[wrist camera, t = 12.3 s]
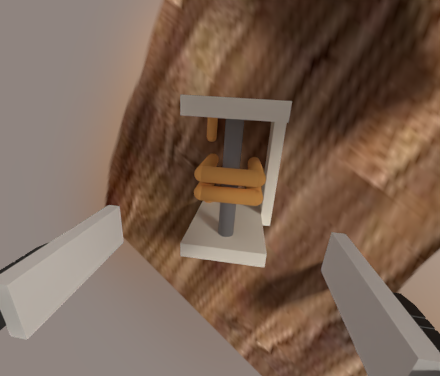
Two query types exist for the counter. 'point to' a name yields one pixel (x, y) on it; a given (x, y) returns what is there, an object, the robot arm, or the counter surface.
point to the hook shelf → (235, 213)
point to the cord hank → (230, 182)
